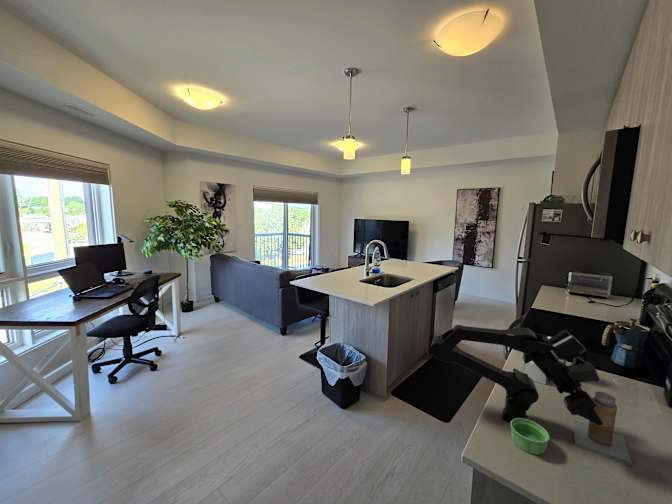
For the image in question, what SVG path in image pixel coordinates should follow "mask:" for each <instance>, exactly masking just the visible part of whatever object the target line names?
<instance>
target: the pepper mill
mask: <svg viewBox="0 0 672 504" xmlns="http://www.w3.org/2000/svg"><path fill="white" fill-rule="evenodd" d="M591 398H592V399H593V400H594V402H595V403H596V407H595V408H594V410H595V412H596V413H597V415H598V416H599V418H600V419H601V421H602V423H603V424H602V425H597V424H595V423H593V422H591V421H589V420H588V424H589V426H588V436H589V438H590V439H592V440H593V441H595V442H596V443H599V444H601V445H605V446H610V445H611V444H612V438H613V433H614V430H615V423H616V417H617V411H618V405H617V404H616V398H615V396H613V395H611V394H609V393H607V392H605V391H604V392H603V391H595V394H594V397H591Z"/></svg>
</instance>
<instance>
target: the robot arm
mask: <svg viewBox="0 0 672 504" xmlns="http://www.w3.org/2000/svg"><path fill="white" fill-rule="evenodd" d="M550 337H551V338H550V339H548V336H547V335H544V334H541V333H537V332H534V331H533V330H531V329H530V328H528V327H512V328H507V329H497V328H496V329H495V328H488V327H487V328H486V327H479V326H478V327H476V326H467V325H461V324H456V325H454V326H453V327H452V328H450V329H449V330H447V331H445V332H443V334H441V335H437V336H435V337H434V338H433V339H432V342H431V344H430V351H429V352H430V354H431V356H432V357H433V358H434V359H436V360H439V361H442V362H445V363H453V364H457V365H459V366H461V367H463V368H465V369H468V370H469V371H471V372H473V373H475V374H477V375H479V376H481V377H483V378H485V379H487V380H489V381H491V382H493V383H494V384H495V383H496V384H497V385H499V386H501V387H502V388H504V390H505V394H506V395H505V400H504V401H505V402H504V403H505V404H504V408H502V409H503V410H502V414H501V420H502V421H505V422H508V423H511V421H512V420H513V419H515V418H524V419H529V418H528V415H527V411H529V410H530V408H531V407H532V405H533V404H535V403H536V402H538V400H539V395H540V394H539V393H538V390H537V388H536V385H535V381H533V380H532V379H531V378H530V377H528V374H525V373H524V372H521V371H519V370H518V369H517V368H513V370H512V371H508V370H507V371H506V370H503V369H502V368H499V367H498V366H495V365H494V364H492V363H489V362H487V361H486V360H483V359H481V358H478V357H477V356H475V355H472V354H470V353H468V352H466V351H465V350H462V349H460V347H459V346H458V344H459V343H461V342H462V341H466V342H475V343H483V344H491V345H497V346H499V345H500V346H505V347H508V348H510V349H511V350H513V351H517V352H521V353H522V360H523V363H524V365H525V364H527V363H529V362H531V361H533V362H534V363H535V365H536V366H537V367H538V368H539V369H540V370H541V371H542V372H543V373H544V374H545V376H546V381H548V382H549V383H550V382H551V383H552V384H553V385H554V387H555V389H556V390H557V392H558V393H559V394H560V395H561V394H563V393H566V394H567V393H568V395H566V396H564V397H563V403H564V405H565V407H566V409H567V411H568V412H570V414H571V415H572V416H579V417H581V418H584V419H585V420H587V421H588V422H589V421H591V422H593V423H595V424H597V425H602V424H603V423H602V421H601V419H600V418H599V416H598V415H597V413H596V412H595V410H594V408H595V407H596V403H595V402H594V400H593V399H592V398H593V397H591V395H590V394H589V393H588V392H587V391H585V390H583V389H582V388H581V387H582V386H583V384H582V383H589V382H594V383H596V382H600V381H601V379H600V376H599V374H598V371H597V369H596V368H595V366H594V365H593V364H592V362H589V361H588V360H587V361H585V360H583V358H582V357H580V356H579V355H580V354H583V353H584V352H586V351H587V349H586V347H584V346H583V345H582V343H581V342H580V341H579V340H578V339H577V338H576V337H575V336H574V335H572V333H570V332H569V331H568V330H567V329H563V330H561V331H559V333H557V334H555V335H553V336H550ZM551 350H552V351H553V352H554V353H555V354H556V355H557V356H558V357H559V358H560V359H561V358H562V359H563V360H567V361H569V360H570V359H572V360H573V361H572V363H570V364H569V365H567V363H566V364H565V363H564V362H563V363H562V362H560V361H559V360H558V359H557V358H556V357H555V356H554V355H553V354H552V352H551Z"/></svg>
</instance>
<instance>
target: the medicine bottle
mask: <svg viewBox="0 0 672 504" xmlns="http://www.w3.org/2000/svg"><path fill="white" fill-rule="evenodd" d="M523 368H524V369H523V373H525V374H528V377H530V378H531V379H532V380H533V382H536V383H540V384H542V385H546V383H547V378H546V376H545V374H544V373H543V372H542V371H541V370H540V369H539V368H538V367H537V366H536V365H535V363H534V362H533V361H531V362H529V363H527V364H525V363H524V367H523Z"/></svg>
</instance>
